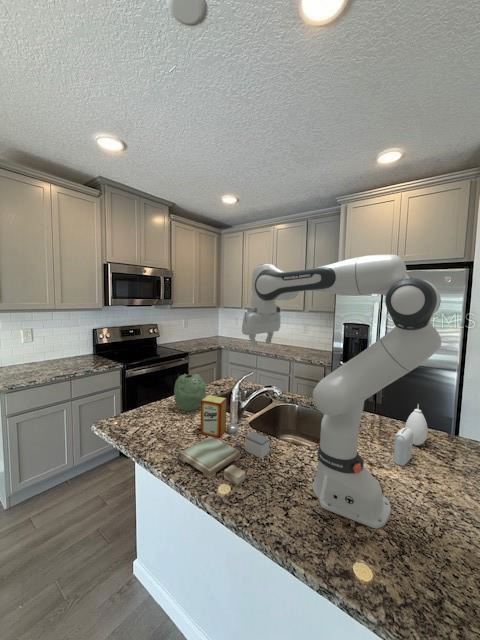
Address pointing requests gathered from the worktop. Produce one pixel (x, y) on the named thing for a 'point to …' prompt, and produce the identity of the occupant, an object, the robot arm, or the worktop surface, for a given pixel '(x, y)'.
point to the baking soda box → (213, 416)
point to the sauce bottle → (417, 426)
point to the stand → (209, 456)
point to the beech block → (234, 475)
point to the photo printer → (403, 446)
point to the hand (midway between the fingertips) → (261, 344)
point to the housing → (257, 445)
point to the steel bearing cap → (232, 428)
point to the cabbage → (189, 391)
